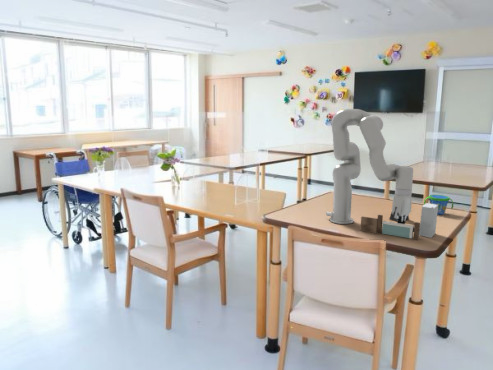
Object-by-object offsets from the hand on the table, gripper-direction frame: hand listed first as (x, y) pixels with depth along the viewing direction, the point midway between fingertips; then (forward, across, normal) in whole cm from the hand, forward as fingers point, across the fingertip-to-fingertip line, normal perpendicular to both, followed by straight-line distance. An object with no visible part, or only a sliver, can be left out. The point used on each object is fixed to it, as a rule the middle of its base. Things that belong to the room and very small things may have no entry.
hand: (400, 228), depth 203 cm
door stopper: (+3, -23, -15) cm, 27 cm away
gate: (+2, +5, +1) cm, 6 cm away
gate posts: (+3, +6, -3) cm, 7 cm away
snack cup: (+3, -52, -8) cm, 53 cm away
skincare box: (+3, -9, +9) cm, 13 cm away
